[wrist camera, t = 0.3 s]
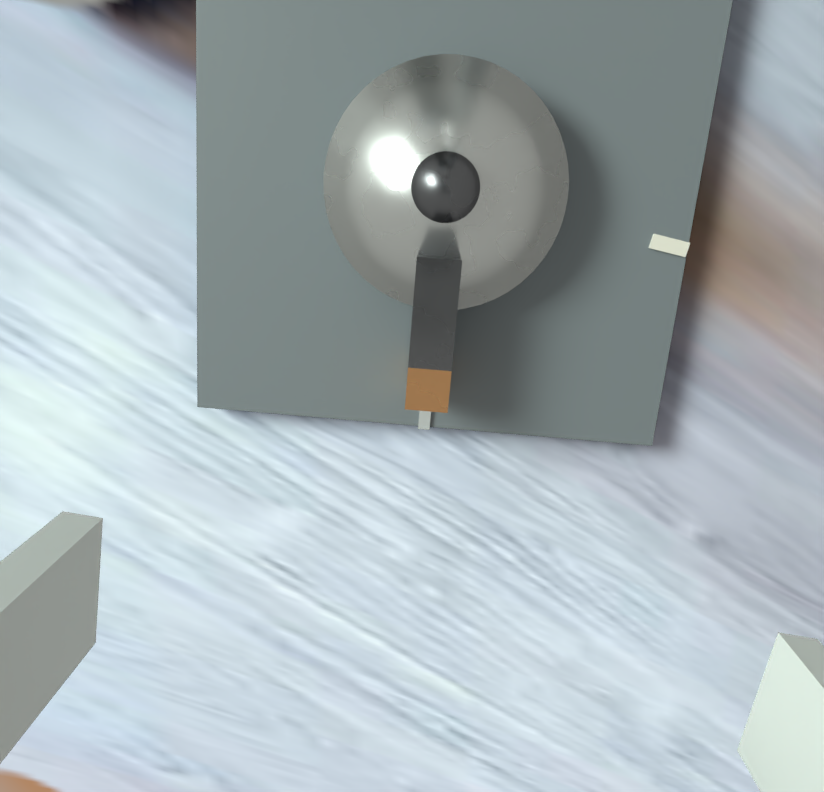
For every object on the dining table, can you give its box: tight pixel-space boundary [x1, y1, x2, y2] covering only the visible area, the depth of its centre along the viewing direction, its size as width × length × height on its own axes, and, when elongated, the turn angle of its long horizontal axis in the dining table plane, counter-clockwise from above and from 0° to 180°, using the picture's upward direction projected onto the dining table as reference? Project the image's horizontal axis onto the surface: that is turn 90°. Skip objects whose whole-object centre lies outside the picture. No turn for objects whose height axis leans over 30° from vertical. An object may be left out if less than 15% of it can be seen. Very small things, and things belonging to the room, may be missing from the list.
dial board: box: [196, 0, 733, 446], centre depth 34 cm, size 24×24×2 cm
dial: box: [323, 54, 569, 413], centre depth 32 cm, size 16×11×4 cm
